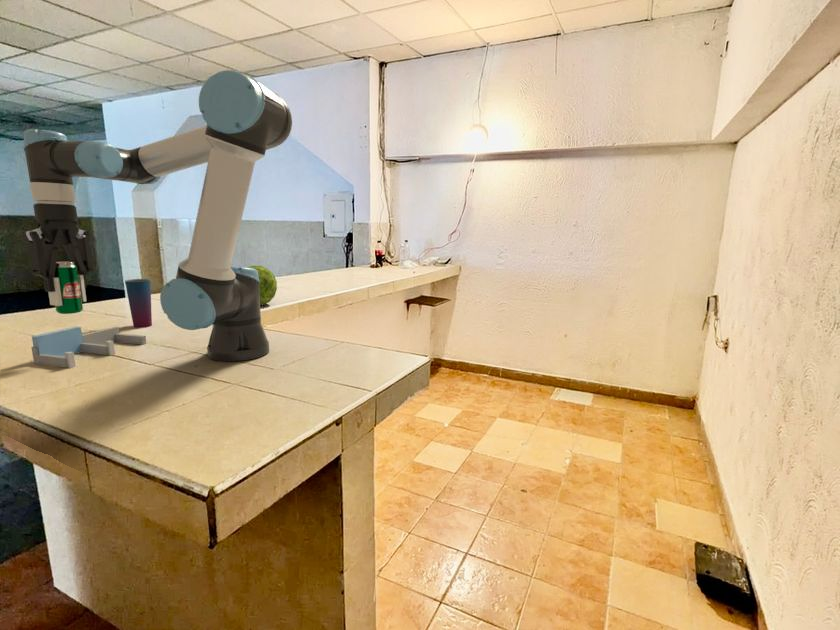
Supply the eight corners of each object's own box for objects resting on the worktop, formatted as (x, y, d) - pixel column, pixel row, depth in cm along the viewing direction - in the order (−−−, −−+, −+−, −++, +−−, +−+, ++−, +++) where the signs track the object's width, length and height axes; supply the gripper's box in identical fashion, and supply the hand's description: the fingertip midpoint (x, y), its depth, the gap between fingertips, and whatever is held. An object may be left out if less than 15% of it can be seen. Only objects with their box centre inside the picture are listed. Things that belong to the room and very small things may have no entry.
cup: (159, 325, 140) (154, 280, 136) (136, 329, 134) (131, 282, 131) (148, 322, 143) (143, 278, 140) (126, 326, 137) (120, 280, 134)
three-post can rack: (148, 343, 119) (145, 321, 118) (70, 367, 99) (66, 340, 97) (116, 340, 122) (113, 318, 120) (33, 363, 101) (29, 336, 100)
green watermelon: (250, 313, 191) (271, 284, 196) (265, 313, 172) (288, 281, 177) (217, 290, 183) (240, 261, 188) (229, 288, 164) (255, 256, 169)
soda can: (68, 314, 100) (60, 263, 97) (50, 313, 101) (43, 262, 98) (88, 310, 105) (82, 262, 102) (71, 309, 106) (64, 261, 103)
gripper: (80, 205, 107) (92, 296, 112) (-5, 200, 90) (14, 308, 94) (104, 205, 105) (115, 298, 110) (23, 201, 88) (40, 311, 93)
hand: (68, 302), depth 102 cm, fingers closed on soda can, 5 cm apart
